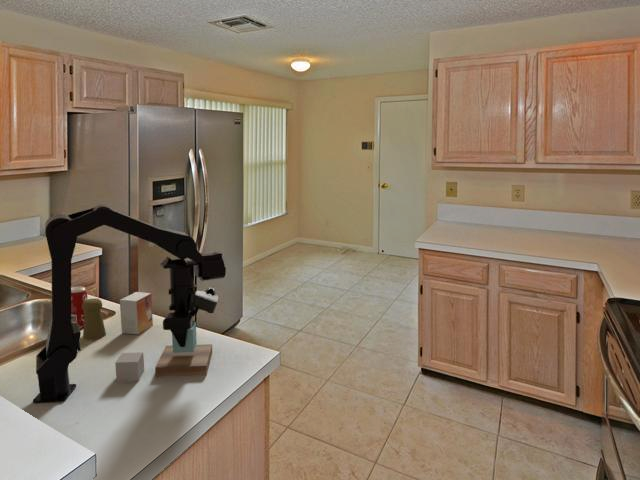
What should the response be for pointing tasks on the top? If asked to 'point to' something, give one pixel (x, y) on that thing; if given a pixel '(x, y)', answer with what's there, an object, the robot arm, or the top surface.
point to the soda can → (78, 305)
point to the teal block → (190, 341)
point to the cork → (93, 320)
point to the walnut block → (184, 362)
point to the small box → (136, 313)
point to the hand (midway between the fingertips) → (184, 342)
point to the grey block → (129, 367)
